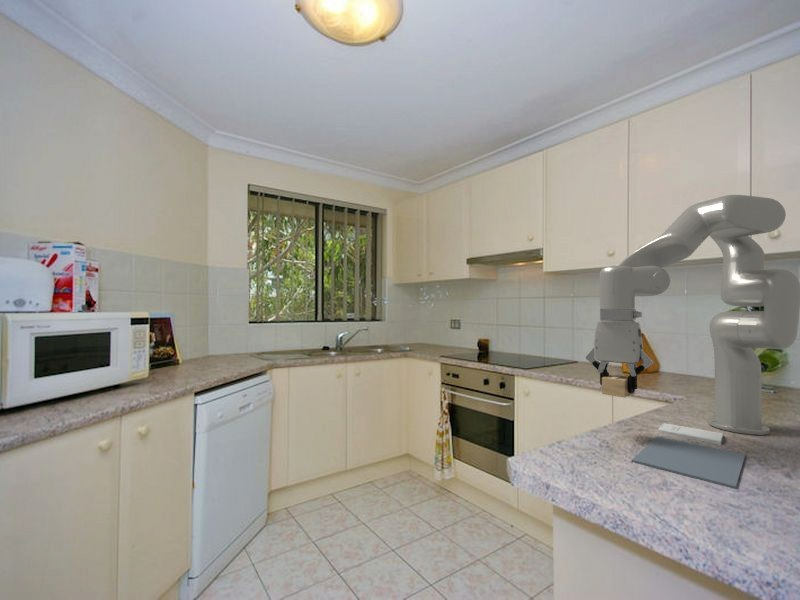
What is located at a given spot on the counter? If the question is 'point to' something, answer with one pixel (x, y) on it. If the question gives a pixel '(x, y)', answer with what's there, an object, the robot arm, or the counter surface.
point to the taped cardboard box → (615, 385)
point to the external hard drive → (691, 433)
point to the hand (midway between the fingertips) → (618, 389)
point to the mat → (692, 461)
